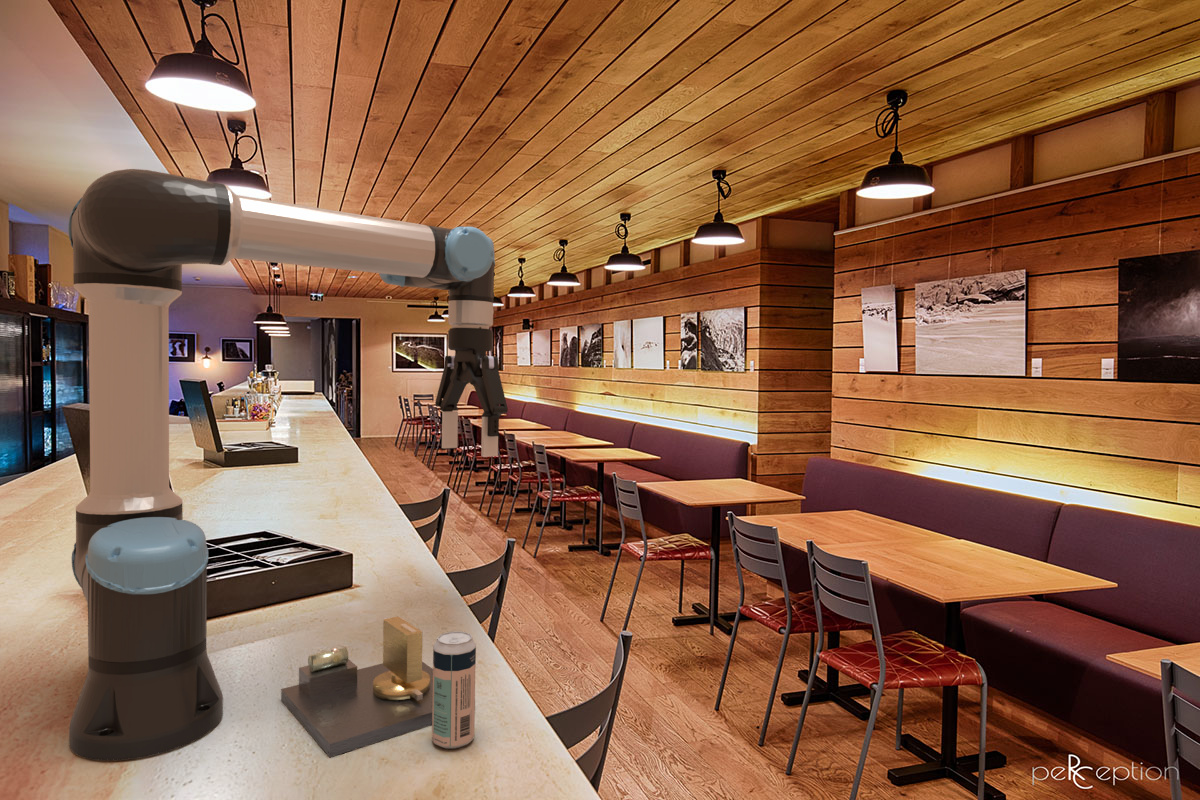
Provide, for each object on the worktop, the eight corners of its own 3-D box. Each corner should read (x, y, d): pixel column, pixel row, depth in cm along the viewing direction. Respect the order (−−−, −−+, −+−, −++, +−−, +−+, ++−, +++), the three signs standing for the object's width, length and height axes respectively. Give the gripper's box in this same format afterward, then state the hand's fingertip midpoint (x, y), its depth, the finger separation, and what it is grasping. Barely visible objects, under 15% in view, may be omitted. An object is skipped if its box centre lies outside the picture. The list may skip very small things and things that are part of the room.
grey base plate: (329, 757, 79) (330, 701, 79) (281, 700, 92) (281, 651, 92) (474, 710, 91) (475, 661, 91) (413, 665, 104) (414, 622, 104)
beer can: (476, 730, 86) (478, 630, 86) (471, 752, 81) (473, 645, 81) (435, 730, 86) (437, 629, 85) (427, 751, 81) (429, 645, 81)
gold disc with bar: (392, 710, 87) (393, 642, 87) (364, 685, 94) (364, 621, 93) (445, 694, 92) (446, 629, 91) (414, 671, 98) (415, 611, 98)
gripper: (530, 326, 117) (528, 458, 118) (454, 330, 137) (453, 443, 137) (490, 324, 113) (487, 461, 114) (417, 328, 132) (415, 445, 133)
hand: (468, 452), depth 125 cm, fingers open, 13 cm apart
